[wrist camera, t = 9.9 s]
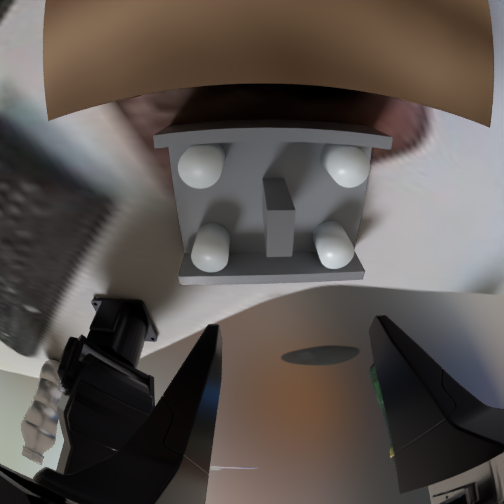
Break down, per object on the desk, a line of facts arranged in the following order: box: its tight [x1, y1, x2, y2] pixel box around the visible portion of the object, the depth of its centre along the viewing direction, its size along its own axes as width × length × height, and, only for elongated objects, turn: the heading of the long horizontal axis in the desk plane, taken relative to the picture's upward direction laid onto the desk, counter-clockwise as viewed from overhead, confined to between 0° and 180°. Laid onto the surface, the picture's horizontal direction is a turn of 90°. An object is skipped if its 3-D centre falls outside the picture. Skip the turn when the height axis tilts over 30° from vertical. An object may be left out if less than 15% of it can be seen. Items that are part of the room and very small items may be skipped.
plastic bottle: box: [21, 359, 62, 465], centre depth 28 cm, size 6×7×20 cm
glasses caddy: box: [153, 119, 393, 285], centre depth 18 cm, size 11×14×6 cm
